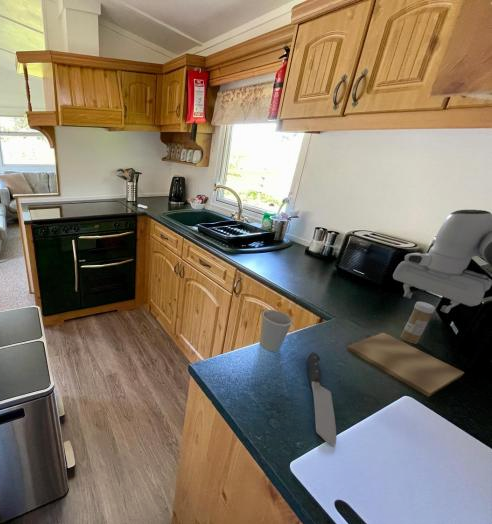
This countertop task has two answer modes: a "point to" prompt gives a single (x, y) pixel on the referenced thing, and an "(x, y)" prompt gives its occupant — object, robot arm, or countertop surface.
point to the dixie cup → (274, 329)
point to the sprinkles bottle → (417, 322)
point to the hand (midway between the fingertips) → (424, 304)
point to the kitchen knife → (321, 402)
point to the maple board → (406, 363)
